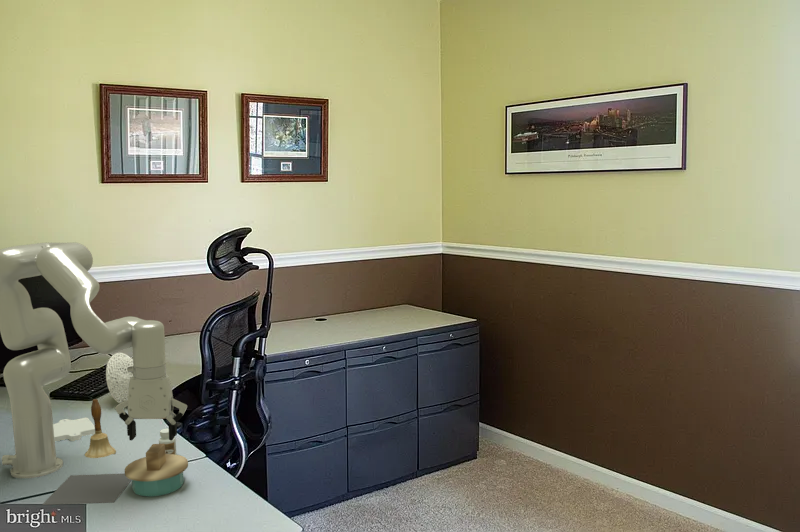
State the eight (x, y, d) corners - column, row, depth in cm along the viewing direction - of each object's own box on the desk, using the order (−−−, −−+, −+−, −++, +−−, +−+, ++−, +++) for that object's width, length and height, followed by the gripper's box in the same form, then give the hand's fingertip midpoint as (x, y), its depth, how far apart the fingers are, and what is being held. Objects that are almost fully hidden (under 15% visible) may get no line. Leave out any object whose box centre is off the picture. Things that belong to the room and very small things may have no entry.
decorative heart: (149, 408, 250) (146, 358, 248) (116, 414, 244) (112, 363, 242) (134, 395, 265) (131, 347, 262) (103, 401, 259) (99, 352, 256)
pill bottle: (159, 461, 205) (157, 434, 204) (160, 455, 209) (158, 428, 208) (176, 459, 206) (174, 432, 205) (176, 453, 210) (175, 426, 209)
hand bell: (105, 460, 206) (100, 404, 204) (78, 459, 208) (73, 403, 205) (121, 449, 214) (117, 395, 212) (95, 447, 216) (91, 394, 213)
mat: (42, 506, 178) (41, 504, 178) (70, 477, 195) (70, 475, 195) (114, 504, 179) (114, 502, 179) (136, 474, 196) (136, 473, 196)
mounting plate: (99, 436, 225) (98, 430, 225) (52, 446, 218) (52, 440, 218) (85, 421, 240) (85, 415, 240) (41, 429, 233) (41, 423, 233)
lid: (116, 482, 179) (114, 461, 178) (135, 458, 194) (134, 438, 193) (179, 480, 180) (178, 458, 179) (194, 455, 195) (193, 436, 194)
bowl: (126, 499, 182) (125, 479, 181) (141, 478, 193) (140, 460, 193) (176, 497, 182) (174, 477, 181) (188, 477, 194) (187, 458, 193)
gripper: (108, 375, 180) (111, 444, 182) (181, 375, 180) (184, 444, 183) (119, 367, 187) (122, 433, 190) (189, 367, 188) (191, 432, 190)
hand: (152, 438), depth 186 cm, fingers open, 9 cm apart
